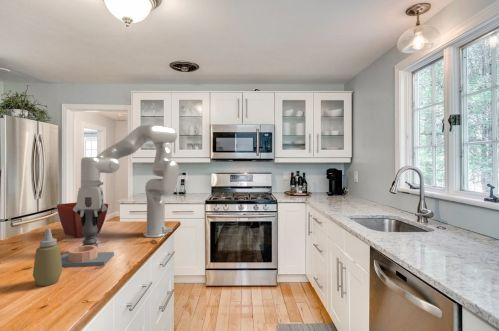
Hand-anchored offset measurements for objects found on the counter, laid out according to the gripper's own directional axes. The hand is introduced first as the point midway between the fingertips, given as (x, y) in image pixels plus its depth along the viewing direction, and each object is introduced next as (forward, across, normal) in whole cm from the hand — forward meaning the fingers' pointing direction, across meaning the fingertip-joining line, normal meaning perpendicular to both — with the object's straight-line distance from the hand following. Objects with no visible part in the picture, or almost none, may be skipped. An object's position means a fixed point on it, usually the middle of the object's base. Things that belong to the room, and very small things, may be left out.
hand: (90, 224), depth 124 cm
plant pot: (+13, +16, -33) cm, 39 cm away
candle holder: (+12, 0, 0) cm, 12 cm away
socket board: (+12, -2, +12) cm, 17 cm away
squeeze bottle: (+13, +1, +32) cm, 34 cm away
